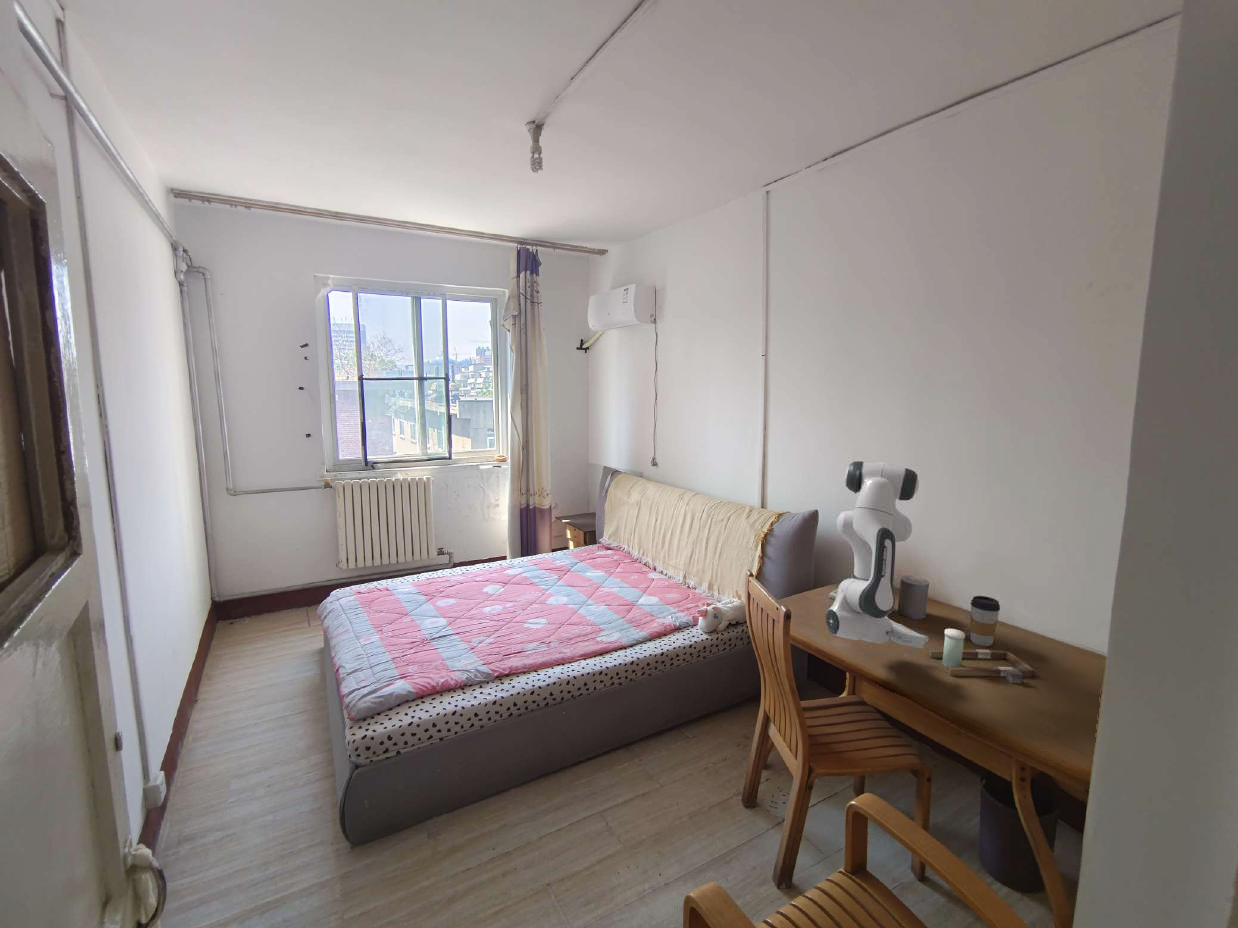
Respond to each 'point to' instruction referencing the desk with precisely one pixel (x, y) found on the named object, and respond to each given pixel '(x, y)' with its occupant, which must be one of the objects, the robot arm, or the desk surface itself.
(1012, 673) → the beam slot
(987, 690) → the desk surface
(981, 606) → the coffee cup
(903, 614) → the pillar candle
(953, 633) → the mint green tumbler
